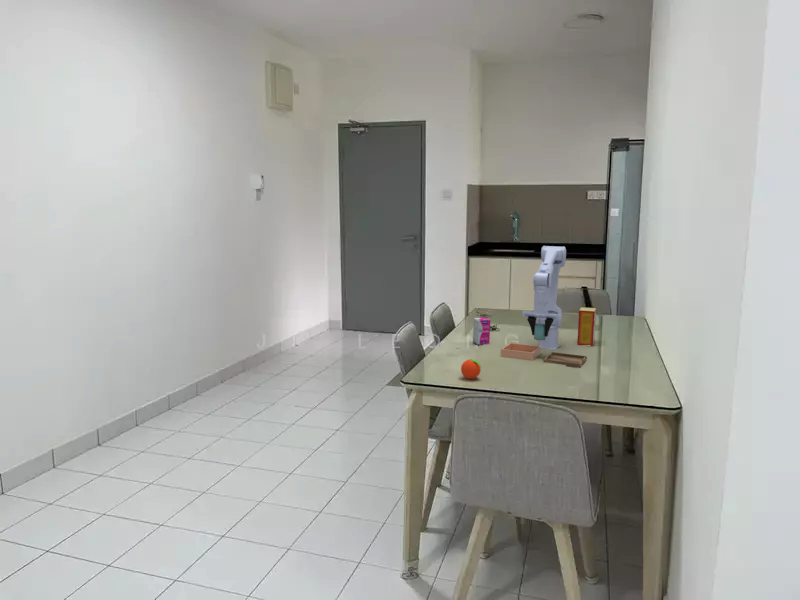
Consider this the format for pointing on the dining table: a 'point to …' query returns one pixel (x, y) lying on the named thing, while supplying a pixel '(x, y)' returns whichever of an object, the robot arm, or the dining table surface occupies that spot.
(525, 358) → the pink storage bin
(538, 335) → the teal cylinder
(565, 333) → the dining table surface
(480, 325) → the supplement box
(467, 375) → the clementine
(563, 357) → the tray
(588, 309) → the baking soda box
